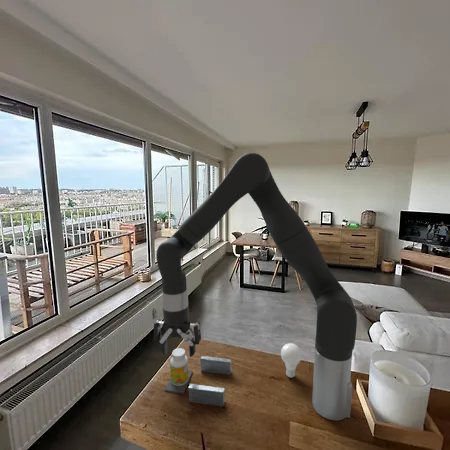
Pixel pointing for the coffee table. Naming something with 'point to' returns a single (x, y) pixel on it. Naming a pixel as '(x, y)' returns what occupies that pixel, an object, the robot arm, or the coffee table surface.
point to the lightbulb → (291, 358)
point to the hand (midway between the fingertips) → (178, 353)
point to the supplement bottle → (179, 367)
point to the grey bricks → (206, 392)
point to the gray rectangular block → (178, 389)
